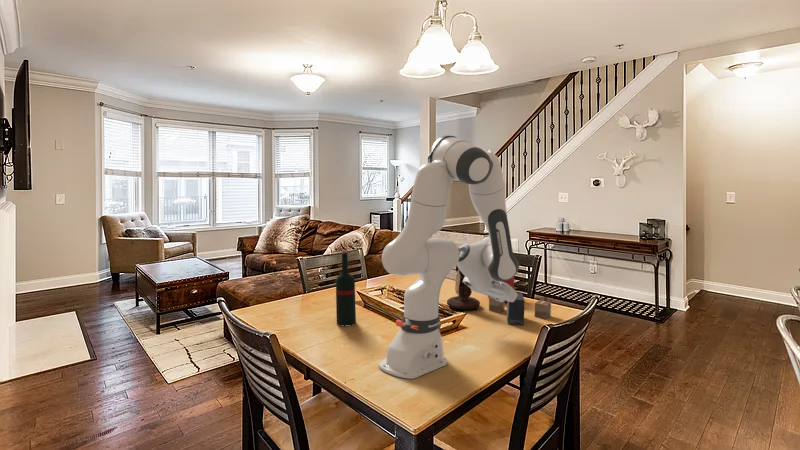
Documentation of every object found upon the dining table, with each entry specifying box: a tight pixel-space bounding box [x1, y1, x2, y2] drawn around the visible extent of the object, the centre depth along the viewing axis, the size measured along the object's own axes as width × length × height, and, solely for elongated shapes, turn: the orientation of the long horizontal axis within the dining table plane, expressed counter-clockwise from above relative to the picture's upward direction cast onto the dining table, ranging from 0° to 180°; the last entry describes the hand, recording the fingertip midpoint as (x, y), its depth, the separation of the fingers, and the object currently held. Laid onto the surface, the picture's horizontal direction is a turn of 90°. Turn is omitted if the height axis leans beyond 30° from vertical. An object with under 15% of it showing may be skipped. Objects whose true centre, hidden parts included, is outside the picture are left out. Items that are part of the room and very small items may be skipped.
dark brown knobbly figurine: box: [446, 265, 481, 311], centre depth 187 cm, size 15×15×20 cm
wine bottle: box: [335, 249, 357, 327], centre depth 168 cm, size 8×10×30 cm
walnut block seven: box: [488, 297, 506, 313], centre depth 183 cm, size 5×5×6 cm
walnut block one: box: [534, 299, 552, 320], centre depth 174 cm, size 5×5×6 cm
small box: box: [506, 292, 526, 326], centre depth 169 cm, size 11×6×10 cm, turn 168°
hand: (500, 300), depth 157 cm, fingers closed
